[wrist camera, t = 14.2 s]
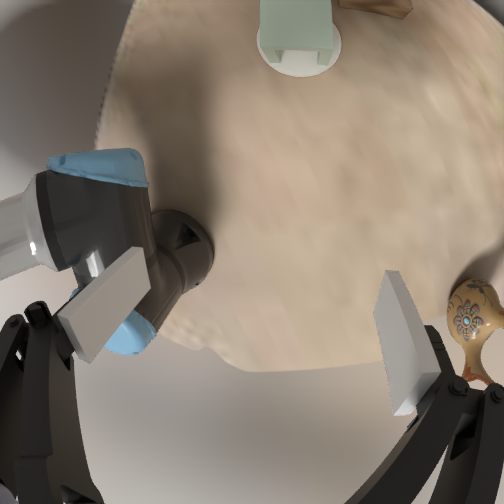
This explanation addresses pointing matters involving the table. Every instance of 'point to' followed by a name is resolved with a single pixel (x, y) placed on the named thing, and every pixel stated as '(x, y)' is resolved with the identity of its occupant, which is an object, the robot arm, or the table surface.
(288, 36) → the stool
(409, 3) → the walnut box
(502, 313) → the ceramic vessel
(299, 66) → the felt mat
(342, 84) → the table surface
